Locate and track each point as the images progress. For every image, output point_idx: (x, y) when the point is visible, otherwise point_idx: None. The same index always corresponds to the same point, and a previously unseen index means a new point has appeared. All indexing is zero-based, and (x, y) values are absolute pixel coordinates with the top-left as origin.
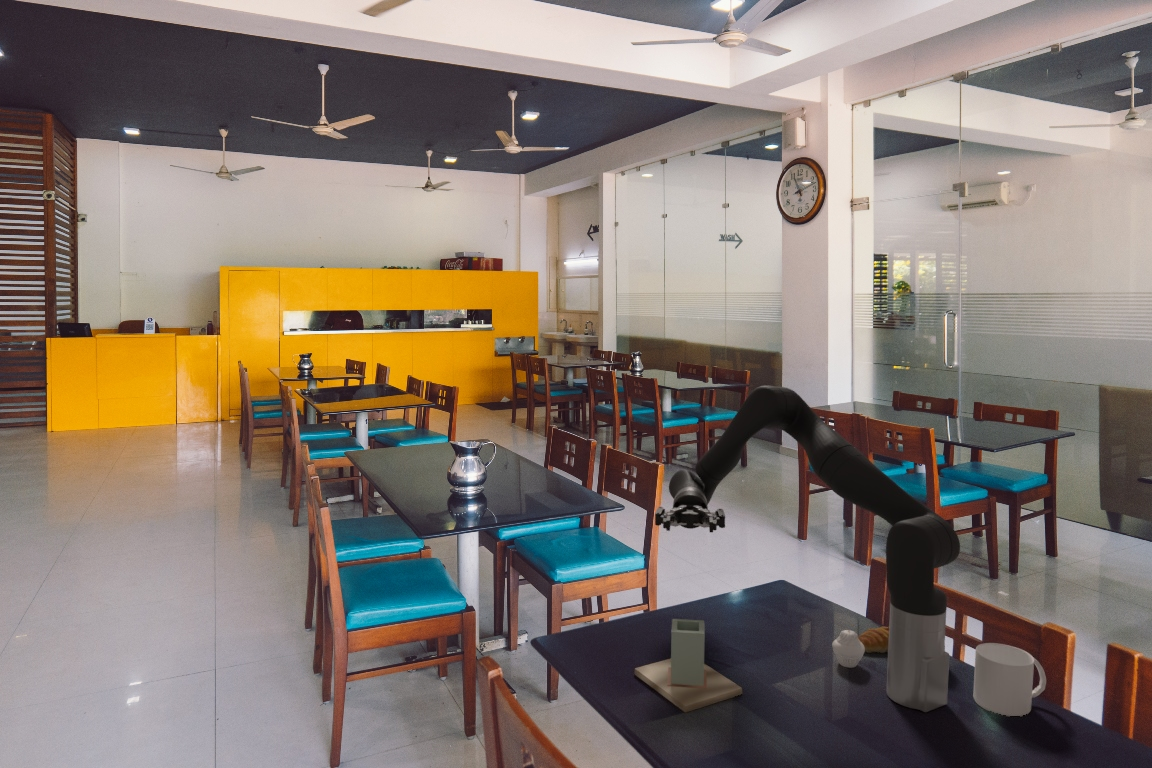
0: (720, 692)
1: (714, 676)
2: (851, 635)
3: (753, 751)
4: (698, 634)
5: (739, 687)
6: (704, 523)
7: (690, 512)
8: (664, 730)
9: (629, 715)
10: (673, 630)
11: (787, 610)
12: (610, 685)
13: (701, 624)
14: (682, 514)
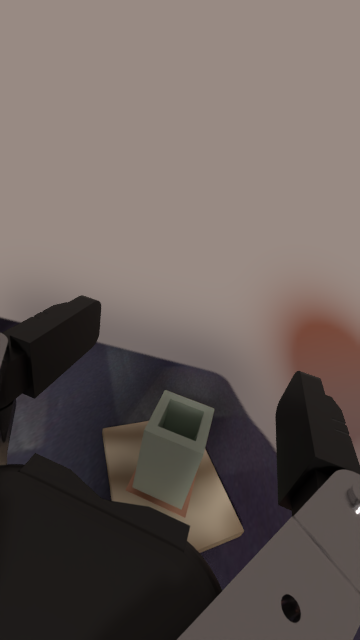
0: (136, 426)
1: (122, 467)
2: None
3: (148, 361)
4: (173, 394)
5: (105, 431)
6: (1, 461)
7: (73, 537)
8: (214, 400)
9: (247, 430)
10: (210, 411)
11: None
12: (276, 506)
13: (156, 417)
14: (187, 528)
